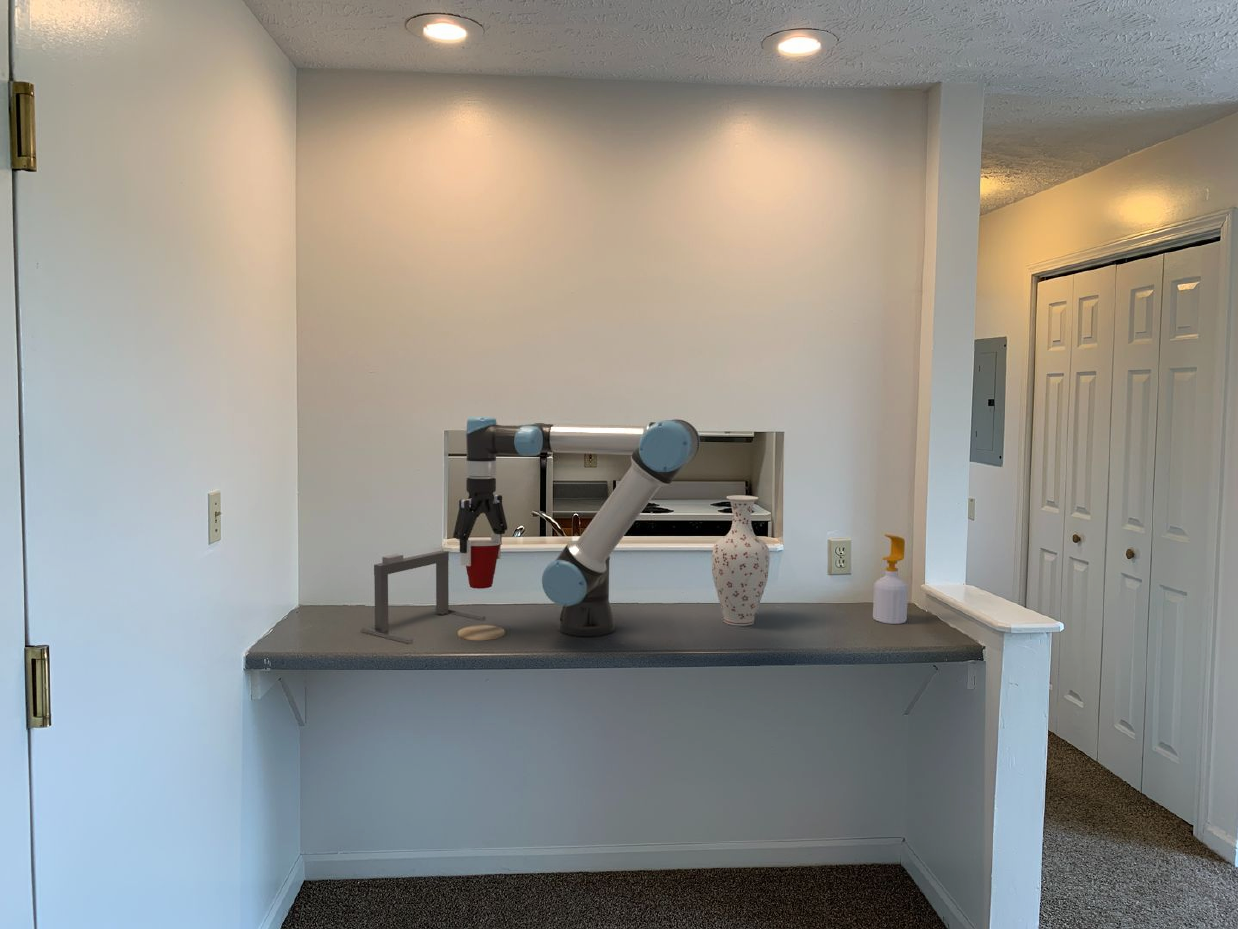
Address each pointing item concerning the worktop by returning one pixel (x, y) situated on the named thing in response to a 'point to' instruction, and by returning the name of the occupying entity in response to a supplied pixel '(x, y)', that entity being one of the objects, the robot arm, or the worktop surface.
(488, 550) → the plastic cup
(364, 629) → the track
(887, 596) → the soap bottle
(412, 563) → the gantry frame
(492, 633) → the cork mat
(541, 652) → the worktop surface
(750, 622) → the vase
